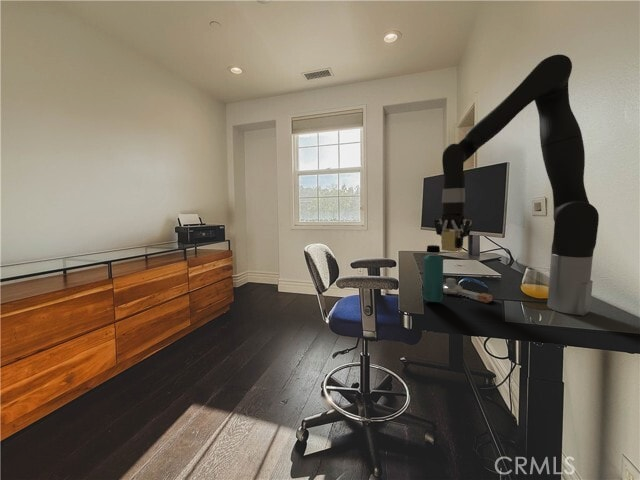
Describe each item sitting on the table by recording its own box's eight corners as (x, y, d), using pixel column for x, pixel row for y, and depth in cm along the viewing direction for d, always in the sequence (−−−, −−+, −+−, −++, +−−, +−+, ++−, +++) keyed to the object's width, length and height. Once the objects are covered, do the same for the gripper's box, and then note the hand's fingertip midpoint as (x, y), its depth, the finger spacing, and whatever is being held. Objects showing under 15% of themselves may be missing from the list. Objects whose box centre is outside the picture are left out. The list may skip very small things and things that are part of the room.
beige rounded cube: (461, 250, 100) (462, 231, 100) (454, 251, 98) (454, 232, 97) (449, 248, 105) (449, 230, 104) (441, 250, 102) (442, 231, 101)
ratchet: (434, 291, 105) (435, 278, 104) (446, 287, 109) (447, 275, 108) (483, 304, 90) (484, 290, 89) (495, 299, 94) (495, 285, 93)
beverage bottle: (446, 306, 89) (448, 246, 87) (426, 306, 89) (427, 247, 87) (437, 299, 96) (439, 243, 93) (419, 300, 96) (420, 244, 93)
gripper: (478, 200, 95) (476, 248, 97) (441, 201, 107) (440, 244, 109) (467, 201, 91) (465, 250, 93) (429, 202, 103) (428, 246, 105)
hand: (451, 246), depth 101 cm, fingers closed on beige rounded cube, 5 cm apart
